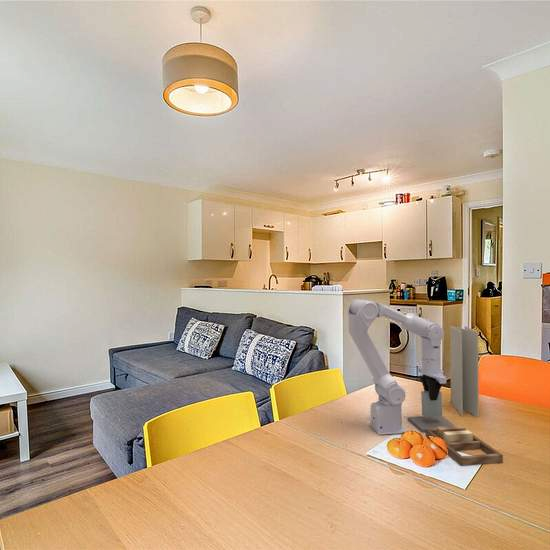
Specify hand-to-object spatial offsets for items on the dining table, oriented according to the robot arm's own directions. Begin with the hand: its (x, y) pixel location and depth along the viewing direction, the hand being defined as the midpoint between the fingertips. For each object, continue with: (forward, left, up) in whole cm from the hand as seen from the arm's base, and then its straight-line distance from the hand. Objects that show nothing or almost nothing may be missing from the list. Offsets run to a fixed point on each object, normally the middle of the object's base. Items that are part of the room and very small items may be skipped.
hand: (431, 398), depth 122 cm
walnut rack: (0, -16, -9) cm, 18 cm away
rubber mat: (0, 0, -9) cm, 9 cm away
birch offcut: (0, -15, -9) cm, 17 cm away
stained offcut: (0, -11, -9) cm, 14 cm away
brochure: (+19, +11, -9) cm, 24 cm away
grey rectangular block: (0, 0, -6) cm, 6 cm away
